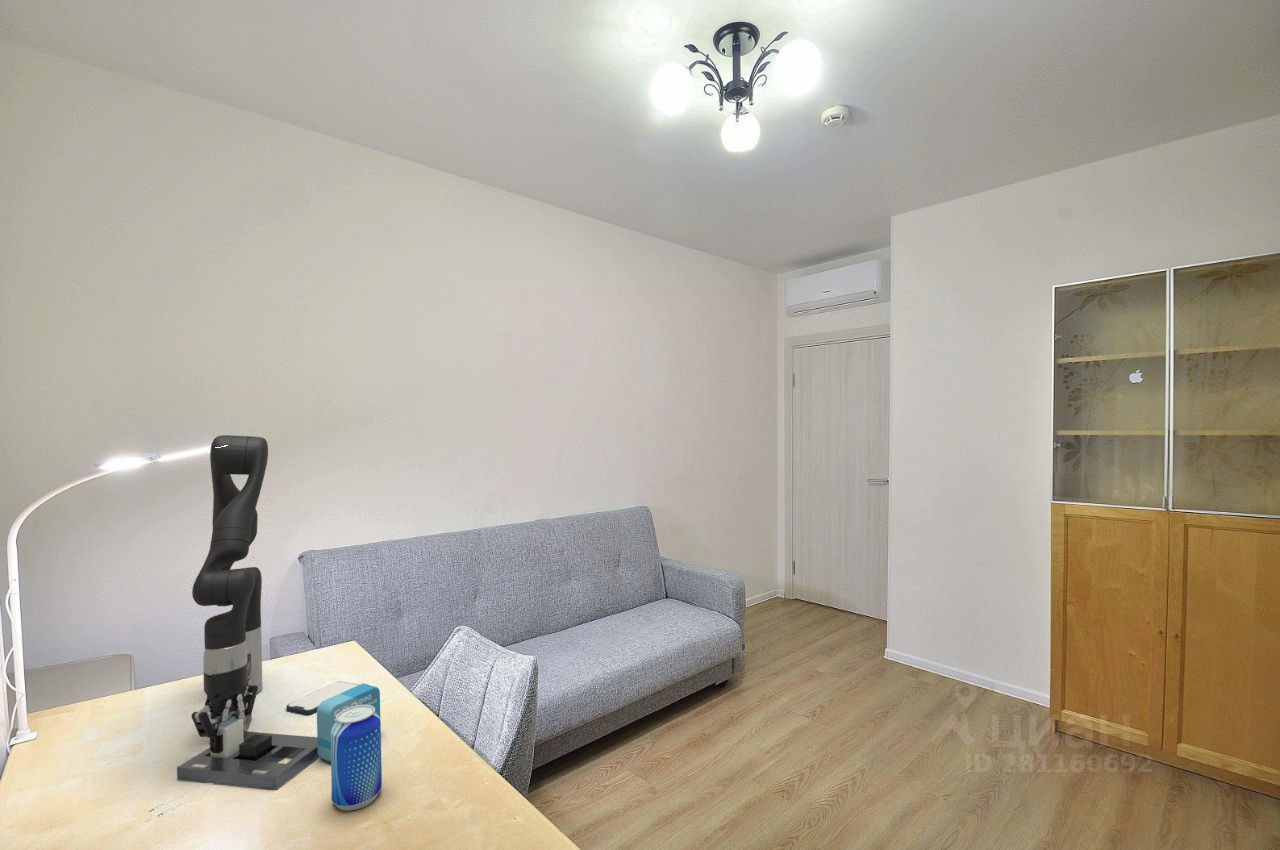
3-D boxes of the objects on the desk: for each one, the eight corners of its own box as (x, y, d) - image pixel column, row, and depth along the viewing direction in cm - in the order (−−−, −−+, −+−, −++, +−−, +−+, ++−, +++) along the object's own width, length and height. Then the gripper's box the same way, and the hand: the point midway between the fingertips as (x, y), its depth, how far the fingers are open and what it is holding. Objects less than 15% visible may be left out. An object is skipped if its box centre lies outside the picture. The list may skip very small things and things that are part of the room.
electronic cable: (147, 812, 105) (147, 810, 105) (207, 782, 113) (207, 779, 113) (159, 818, 103) (159, 816, 103) (219, 787, 112) (219, 785, 112)
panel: (177, 779, 114) (176, 754, 114) (238, 741, 128) (238, 719, 128) (276, 790, 110) (276, 764, 110) (328, 749, 124) (328, 726, 124)
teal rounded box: (330, 766, 117) (329, 708, 117) (317, 760, 119) (316, 703, 120) (381, 738, 128) (380, 684, 128) (368, 733, 130) (367, 680, 130)
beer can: (369, 779, 112) (367, 698, 113) (390, 795, 107) (388, 710, 107) (324, 801, 106) (322, 715, 106) (344, 820, 101) (342, 729, 101)
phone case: (338, 686, 157) (283, 712, 142) (338, 680, 157) (283, 705, 142) (362, 690, 154) (309, 718, 139) (362, 684, 154) (309, 711, 139)
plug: (210, 766, 118) (210, 723, 118) (227, 755, 122) (227, 714, 122) (227, 767, 118) (226, 725, 118) (243, 756, 122) (243, 715, 122)
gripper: (240, 651, 128) (241, 727, 128) (178, 678, 114) (179, 764, 114) (268, 652, 127) (270, 730, 126) (209, 680, 113) (211, 767, 112)
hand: (227, 745), depth 120 cm, fingers closed on plug, 4 cm apart
